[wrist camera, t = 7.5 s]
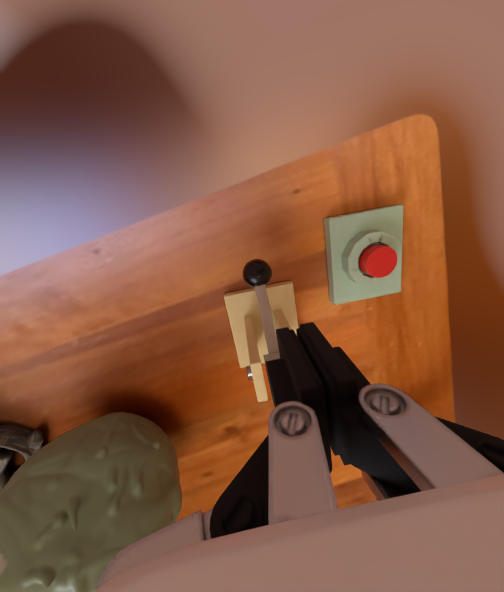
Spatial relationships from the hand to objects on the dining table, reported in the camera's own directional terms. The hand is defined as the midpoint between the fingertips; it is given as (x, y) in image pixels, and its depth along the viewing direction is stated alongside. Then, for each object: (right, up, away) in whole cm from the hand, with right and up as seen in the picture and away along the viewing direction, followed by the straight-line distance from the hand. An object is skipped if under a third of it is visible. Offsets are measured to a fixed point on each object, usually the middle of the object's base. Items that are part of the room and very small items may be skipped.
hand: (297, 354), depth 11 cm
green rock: (-21, -18, +27) cm, 38 cm away
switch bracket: (0, -1, +23) cm, 23 cm away
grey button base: (+12, +8, +21) cm, 25 cm away
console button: (+12, +7, +18) cm, 23 cm away
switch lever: (0, 0, +16) cm, 16 cm away
